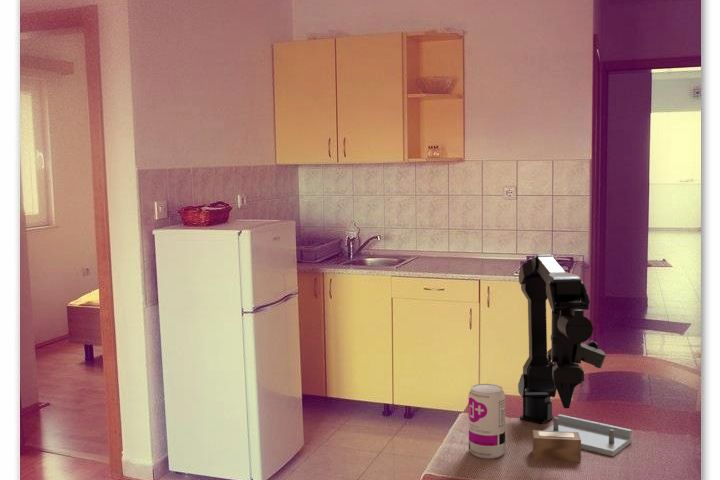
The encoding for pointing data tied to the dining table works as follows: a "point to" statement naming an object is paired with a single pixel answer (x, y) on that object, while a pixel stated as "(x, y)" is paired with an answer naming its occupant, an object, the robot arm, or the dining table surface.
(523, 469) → the dining table surface
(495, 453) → the supplement can
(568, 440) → the brown wooden block
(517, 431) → the dining table surface
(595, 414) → the dining table surface
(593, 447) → the ledge
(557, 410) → the dining table surface
